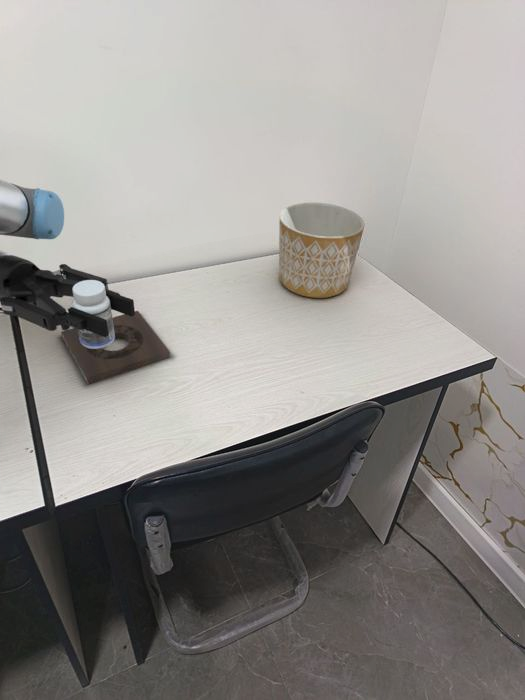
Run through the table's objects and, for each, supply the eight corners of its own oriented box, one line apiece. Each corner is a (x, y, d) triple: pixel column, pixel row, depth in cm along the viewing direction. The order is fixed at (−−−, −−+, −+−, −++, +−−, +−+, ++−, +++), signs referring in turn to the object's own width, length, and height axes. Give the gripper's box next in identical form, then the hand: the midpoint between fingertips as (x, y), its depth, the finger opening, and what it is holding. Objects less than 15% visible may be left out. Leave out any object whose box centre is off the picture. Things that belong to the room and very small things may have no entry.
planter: (301, 310, 112) (310, 243, 102) (260, 271, 125) (264, 209, 114) (368, 292, 120) (382, 228, 110) (322, 257, 133) (331, 197, 122)
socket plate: (87, 384, 89) (86, 378, 88) (62, 337, 99) (60, 331, 98) (170, 357, 96) (169, 351, 95) (138, 316, 106) (137, 310, 105)
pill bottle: (72, 340, 79) (61, 287, 73) (100, 325, 82) (91, 274, 76) (94, 354, 76) (84, 301, 70) (122, 338, 80) (115, 286, 74)
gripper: (52, 272, 90) (157, 309, 83) (-37, 323, 77) (80, 372, 70) (43, 234, 86) (154, 270, 78) (-53, 281, 72) (70, 329, 65)
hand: (119, 318), depth 74 cm, fingers closed on pill bottle, 5 cm apart
